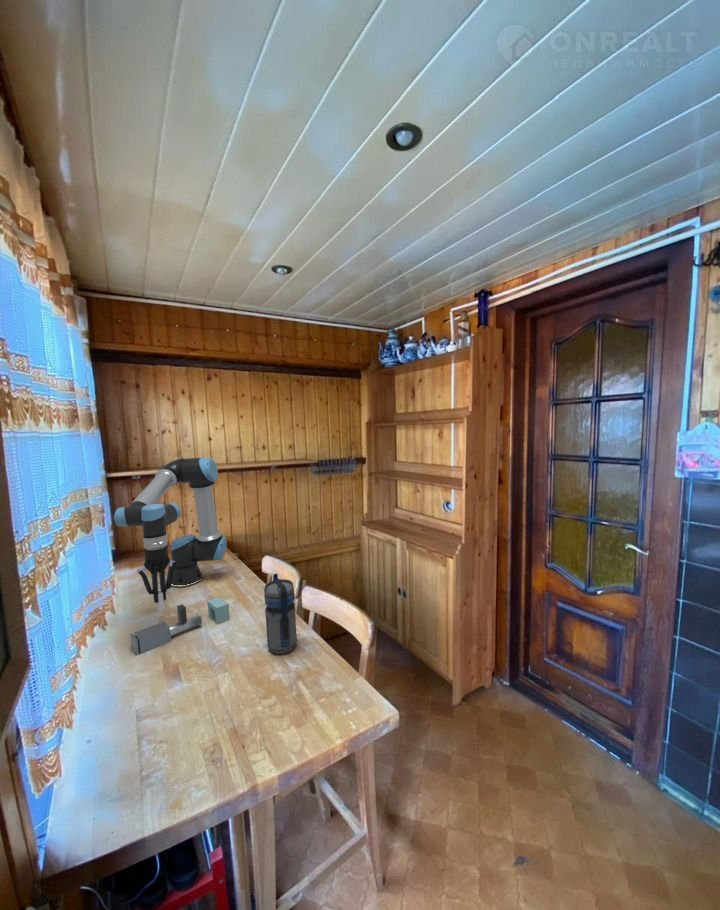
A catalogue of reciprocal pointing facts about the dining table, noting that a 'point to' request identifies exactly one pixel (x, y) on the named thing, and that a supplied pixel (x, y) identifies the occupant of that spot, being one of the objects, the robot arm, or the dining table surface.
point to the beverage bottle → (280, 615)
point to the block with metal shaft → (183, 622)
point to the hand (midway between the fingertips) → (160, 609)
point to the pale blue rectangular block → (218, 610)
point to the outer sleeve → (150, 638)
